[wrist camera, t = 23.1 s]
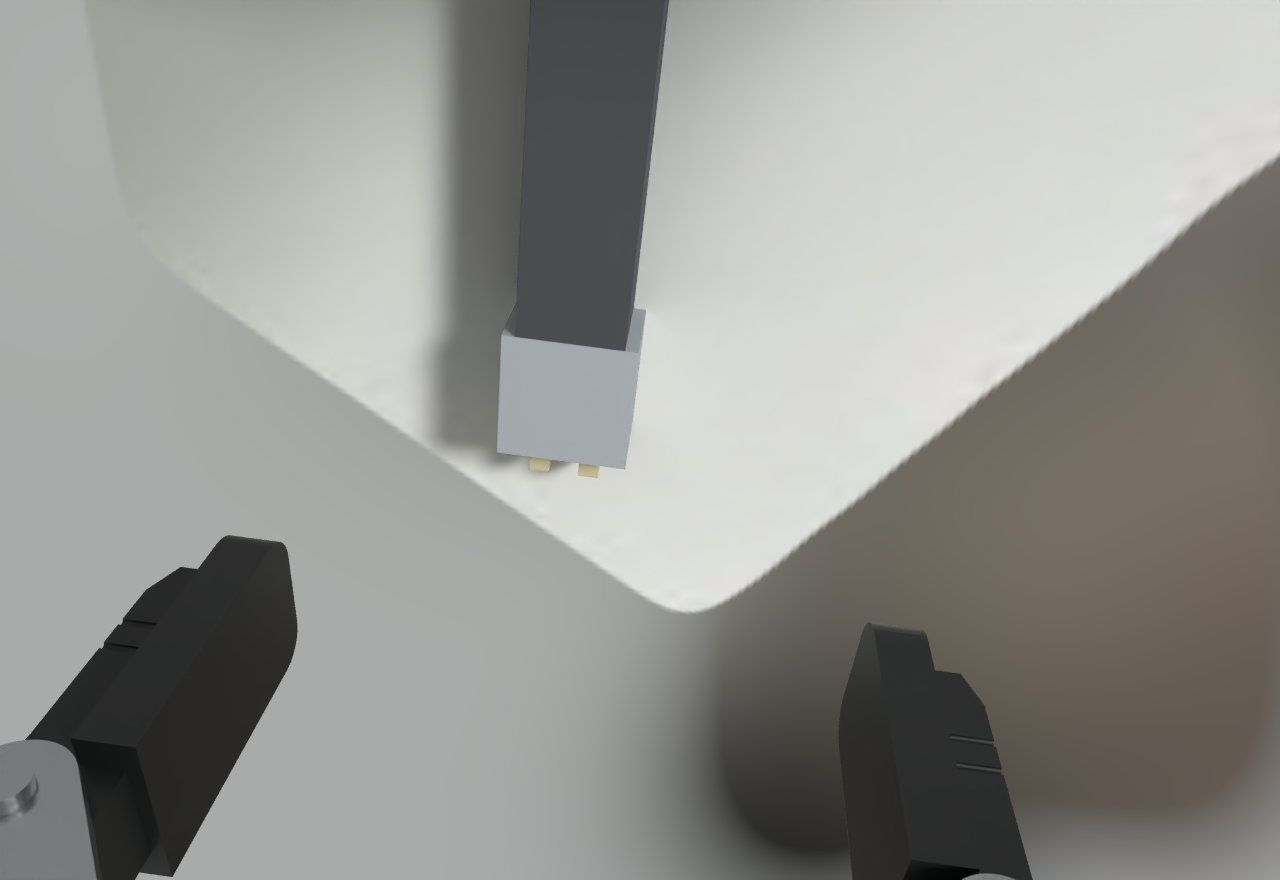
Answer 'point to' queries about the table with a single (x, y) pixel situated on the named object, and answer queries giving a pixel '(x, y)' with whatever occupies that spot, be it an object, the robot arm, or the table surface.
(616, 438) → the grey two-tone block
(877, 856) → the robot arm
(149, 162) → the table surface
